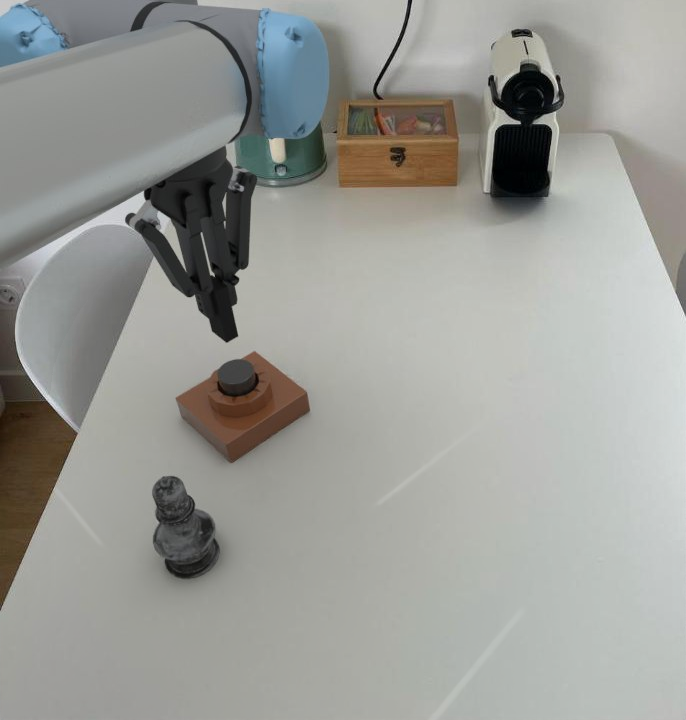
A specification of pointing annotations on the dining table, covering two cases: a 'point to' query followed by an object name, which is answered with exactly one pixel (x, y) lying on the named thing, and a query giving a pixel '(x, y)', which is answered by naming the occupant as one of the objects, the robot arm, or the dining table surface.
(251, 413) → the brown square base plate
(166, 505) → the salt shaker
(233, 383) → the button
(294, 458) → the dining table surface
